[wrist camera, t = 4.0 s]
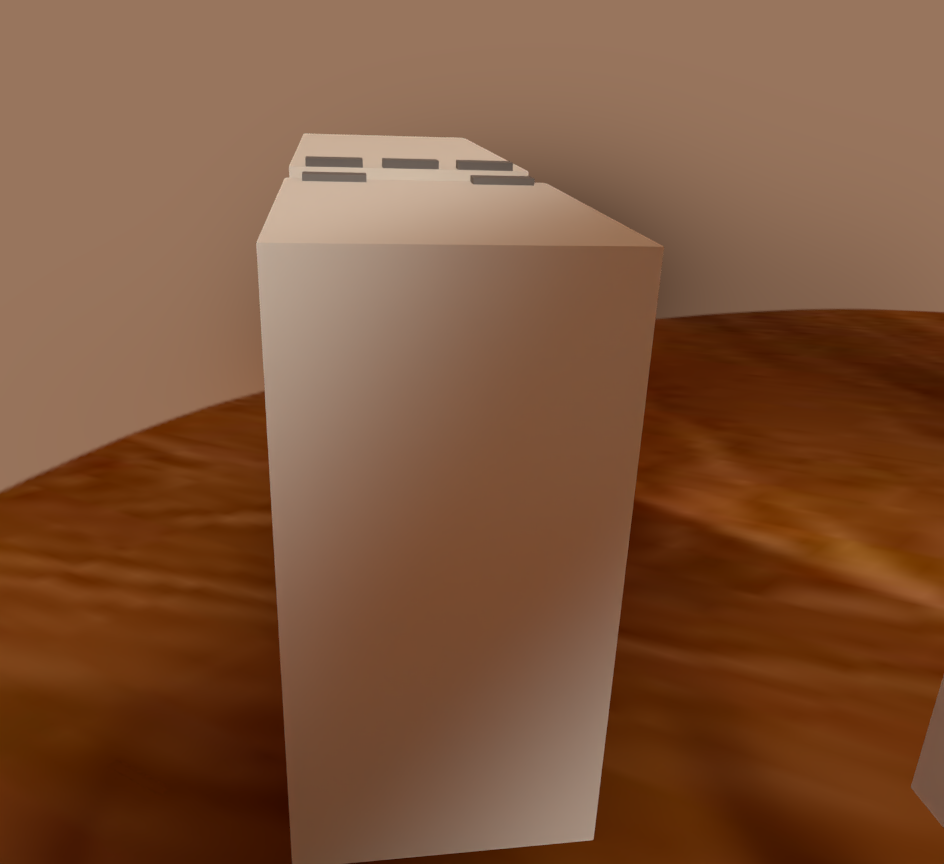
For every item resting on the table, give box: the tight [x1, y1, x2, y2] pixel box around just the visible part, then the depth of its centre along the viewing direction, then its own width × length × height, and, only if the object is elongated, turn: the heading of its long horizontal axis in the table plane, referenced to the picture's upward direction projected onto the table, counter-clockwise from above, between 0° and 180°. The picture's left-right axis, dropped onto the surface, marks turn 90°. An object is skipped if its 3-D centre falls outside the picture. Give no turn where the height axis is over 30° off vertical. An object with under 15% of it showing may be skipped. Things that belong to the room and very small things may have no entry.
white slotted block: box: [289, 134, 528, 181], centre depth 30 cm, size 6×12×12 cm, turn 8°
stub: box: [256, 171, 664, 864], centre depth 19 cm, size 6×8×12 cm
